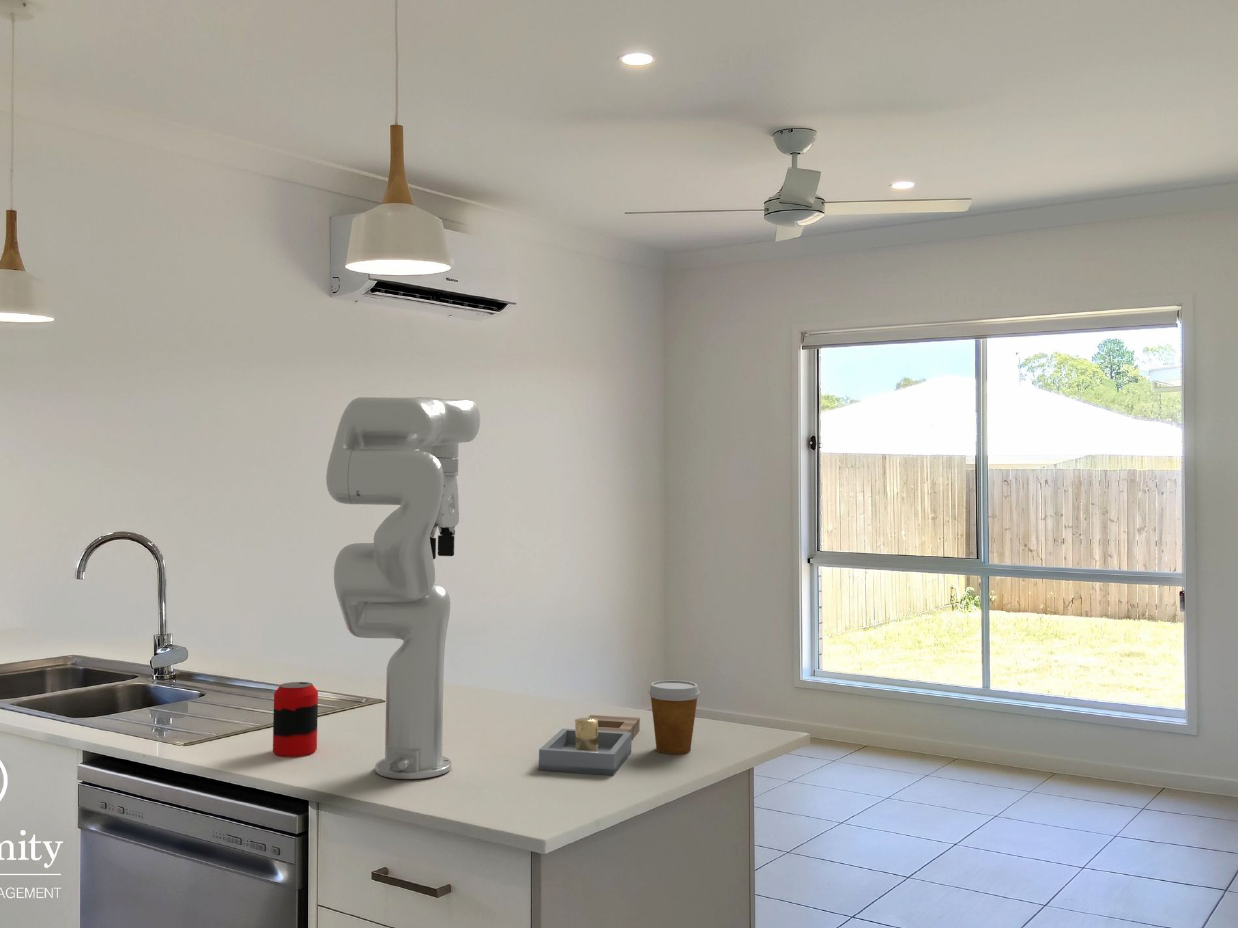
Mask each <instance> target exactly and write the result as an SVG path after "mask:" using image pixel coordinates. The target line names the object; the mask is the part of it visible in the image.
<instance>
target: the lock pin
mask: <svg viewBox="0 0 1238 928" xmlns="http://www.w3.org/2000/svg"><path fill="white" fill-rule="evenodd" d="M574 721H575V723H574V724H575V725H574V727H575V728H574V729H575V735H576V750H583V751H598V719H596V718H588V717H580V718H576V719H575V720H574ZM598 752H599V751H598Z"/></svg>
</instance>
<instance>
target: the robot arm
mask: <svg viewBox="0 0 1238 928" xmlns="http://www.w3.org/2000/svg"><path fill="white" fill-rule="evenodd" d="M480 424H481V414H480V410H479V407H478V406H477V404H476V403H475V401H474V400H472V399H454V398H453V399H450V398H449V399H448V398H447V399H446V398H438V397H428V396H427V397H426V396H414V397H385V396H384V397H382V396H381V397H375V396H373V397H371V396H370V397H368V396H367V397H366V396H365V397H364V396H361V397H356V398H353V400H351V401H350V402H349V403H348V404H347V406H346V408H345V409H344V411H343V413H342V415H341V417H340V421H339V423H338V426H337V430H336V434H335V436H334V440H333V444H332V448H331V452H330V455H329V459H328V463H327V468H326V475H325V477H326V478H325V479H326V488H327V492H328V494H329V495H330V496H331V498H332V499H333V500H334V501H336V502H337V503H341V504H346V505H370V506H371V505H374V506H378V505H379V506H380V505H384V506H391V505H392V506H399V507H398V508H396V509H395V510H394V511H392V512H391V513H390V514H389V515H387V516H386V518H385V519H383V520H382V522H381V523H380V524H379V526H378V527H377V529H375V532H374V534H373V542H359V543H358V542H356V543H355V542H354V543H350V544H348V545H346V546H344V547H343V548H342V549H340V551H339V552H338V554H337V556H336V558H335V562H334V566H333V583H334V589H335V594H336V597H337V600H338V603H339V604H338V605H339V607H340V610H341V613H342V616H343V619H344V620H343V621H344V622H345V623H344V624H345V625H346V629H347V630H348V632H349V633H350V634H351V635H352V636H354V637H356V638H361V639H394V640H395V639H396V640H401V641H403V642H402V644H401V645H400V646H399V648H397V650H396V651H394V652H393V654H392V656H391V657H390V659H389V660H388V662H387V666H386V675H385V676H386V679H385V680H386V681H385V682H386V683H385V685H386V686H385V687H386V688H385V733H384V736H385V739H384V743H385V744H384V745H385V746H384V758H382V759H380V760H378V761H376V763H375V766H374V768H375V769H374V770H375V772H376V773H377V775H379V776H381V777H384V778H390V779H397V780H418V779H419V780H420V779H421V780H422V779H428V778H435V777H437V776H438V777H439V776H441V775H444V774H447V773H448V772H449V771H450V770H451V769H452V760H451V759H449V758H448V757H446V756H443V734H444V733H443V729H444V728H443V727H444V725H443V724H444V722H443V721H444V674H445V672H444V671H445V668H444V667H445V664H444V663H445V649H446V640H447V631H448V624H449V620H450V619H449V618H450V612H451V598H450V595H449V592H448V591H447V590H446V589H445V587H443V586H441V585H440V584H437V583H436V568H435V562H434V561H435V560H436V557H437V556H438V557H453V556H454V555H455V535H456V529H455V528H456V526H458V525H459V523H460V520H459V519H460V513H459V511H460V509H459V508H460V507H459V488H458V487H459V485H458V479H457V477H458V476H459V444H460V443H461V444H462V443H470V442H471V441H472V442H473V440H475V439H476V437H477V435H478V433H479V431H480V426H481V425H480ZM437 529H438V532H439V535H438V536H437V537H435V535H436V531H437Z"/></svg>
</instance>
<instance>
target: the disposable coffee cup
mask: <svg viewBox="0 0 1238 928" xmlns="http://www.w3.org/2000/svg"><path fill="white" fill-rule="evenodd" d="M647 692H648V694H649V697H650V700H651V701H650V702H651V711H652V712H651V713H652V721H653V729H654V730H653V731H654V738H655V739H654V740H655V748H656V751H658V752H659V753H663V754H668V755H683V754H686V753H690V752H691V748H692V740H693V733H694V727H695V726H694V725H695V719H696V718H695V717H696V710H697V703H698V698H699V695H700V694H701V692H700V690H699V685H698V684H697V683H696V682H693V681H687V680H675V679H673V680H671V679H668V680H667V679H666V680H656V681H653V682H651V684H650V688H649V689H648V691H647Z"/></svg>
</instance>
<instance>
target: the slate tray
mask: <svg viewBox="0 0 1238 928" xmlns="http://www.w3.org/2000/svg"><path fill="white" fill-rule="evenodd" d="M632 741H633V740H632V733H629V732H613V731H598V751H599V752H598V751H583V750H576V735H575V728H561V729H560V730H559V731H558V732H557V733H556V734H554V736H552V737H551V738H550V739H549V740H548V741H547V742H546V743H545V744H544V745H542V746H541V747H540V748H539V749H538V771H542V772H543V771H544V772H559V773H575V774H587V775H588V774H589V775H602V776H614V775H616V773H617V772H618V770H619V769H620V768H621V766H623V764H624V763H625V762H626V760H627V759H628V757H629V756H630V755H631V753H632Z"/></svg>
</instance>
